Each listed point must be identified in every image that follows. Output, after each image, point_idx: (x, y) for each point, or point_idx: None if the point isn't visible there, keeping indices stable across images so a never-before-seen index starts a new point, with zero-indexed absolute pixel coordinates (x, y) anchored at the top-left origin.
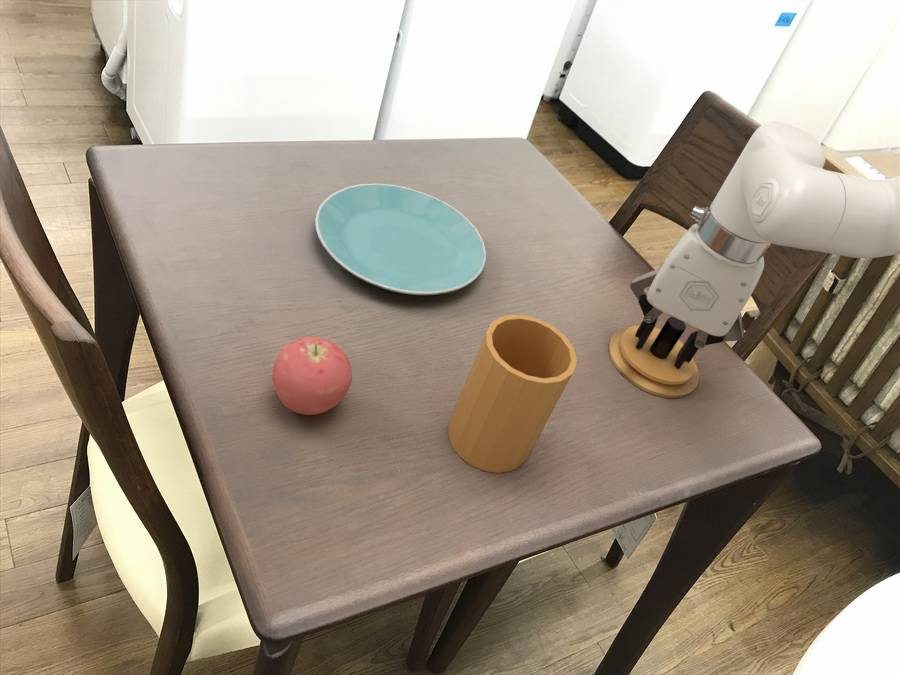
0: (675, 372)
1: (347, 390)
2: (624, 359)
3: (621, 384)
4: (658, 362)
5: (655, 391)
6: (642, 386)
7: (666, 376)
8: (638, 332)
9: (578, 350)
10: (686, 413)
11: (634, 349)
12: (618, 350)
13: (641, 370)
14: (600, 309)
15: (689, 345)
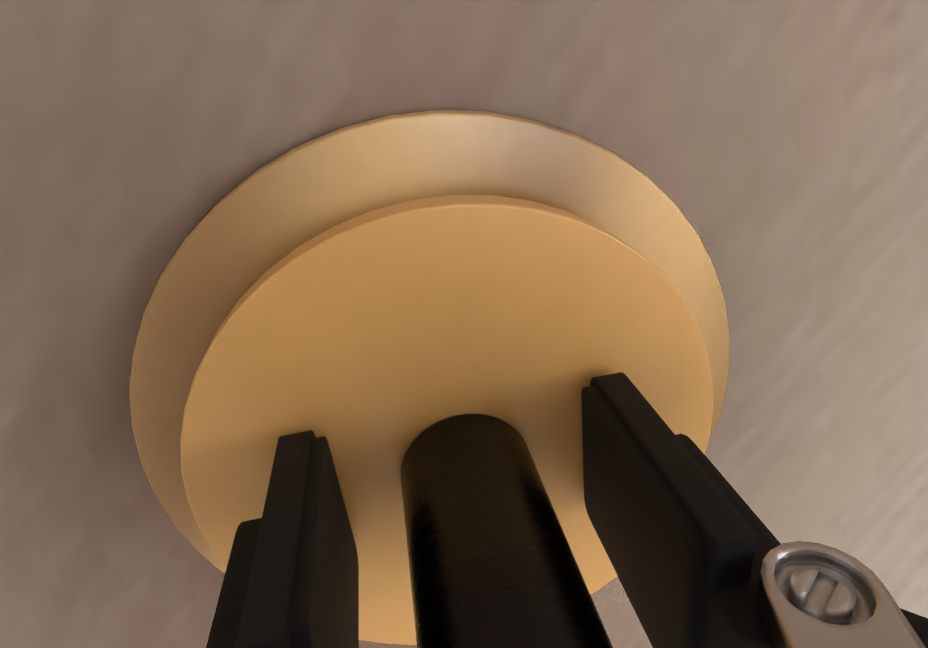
0: (287, 391)
1: None
2: None
3: (555, 37)
4: (430, 382)
5: (325, 143)
6: (425, 114)
7: (321, 297)
8: (698, 458)
9: (880, 121)
10: (38, 153)
11: (615, 355)
12: None
13: (505, 203)
14: (794, 516)
15: (291, 636)
